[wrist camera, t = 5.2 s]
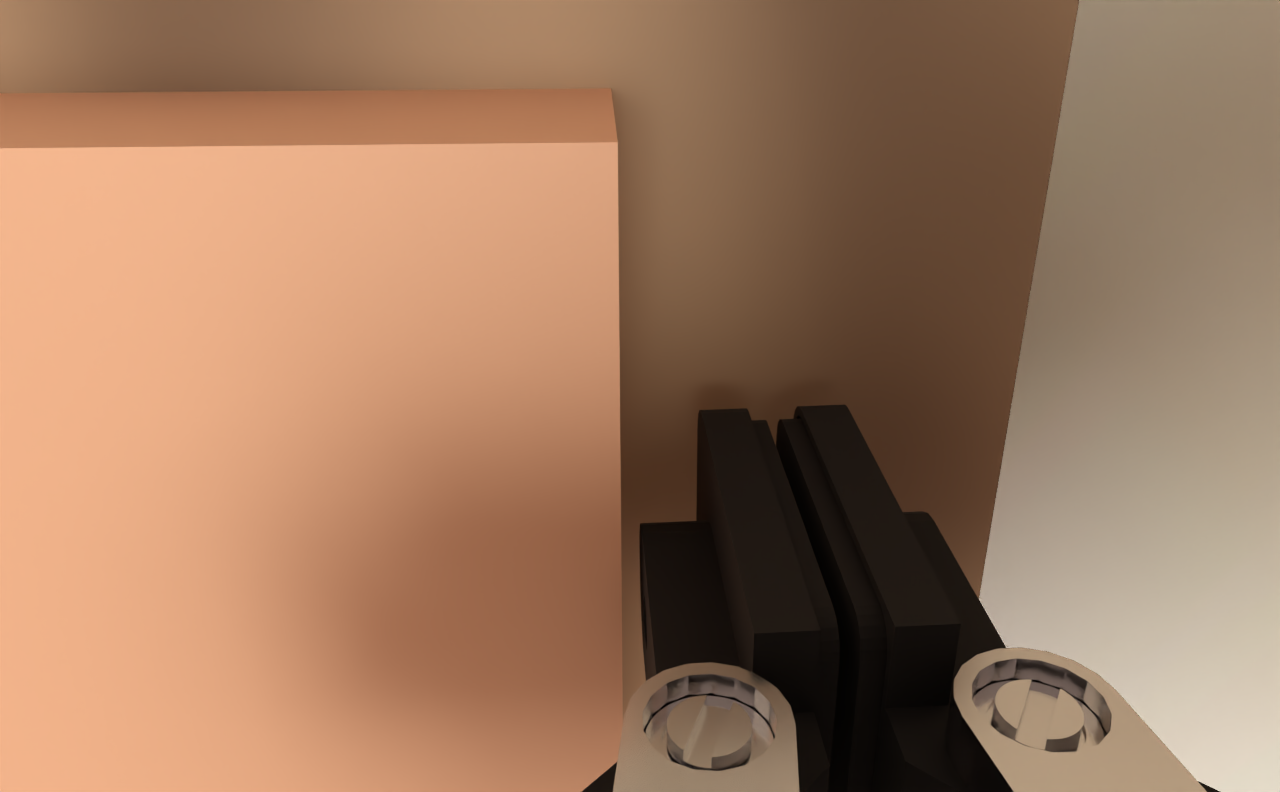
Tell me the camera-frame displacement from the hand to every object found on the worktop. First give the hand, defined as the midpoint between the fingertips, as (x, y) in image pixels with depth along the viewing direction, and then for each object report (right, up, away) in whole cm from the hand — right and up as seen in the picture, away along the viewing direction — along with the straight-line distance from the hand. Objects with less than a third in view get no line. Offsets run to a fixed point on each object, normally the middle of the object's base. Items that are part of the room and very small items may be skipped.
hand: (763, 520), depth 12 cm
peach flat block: (-5, +1, 0) cm, 5 cm away
